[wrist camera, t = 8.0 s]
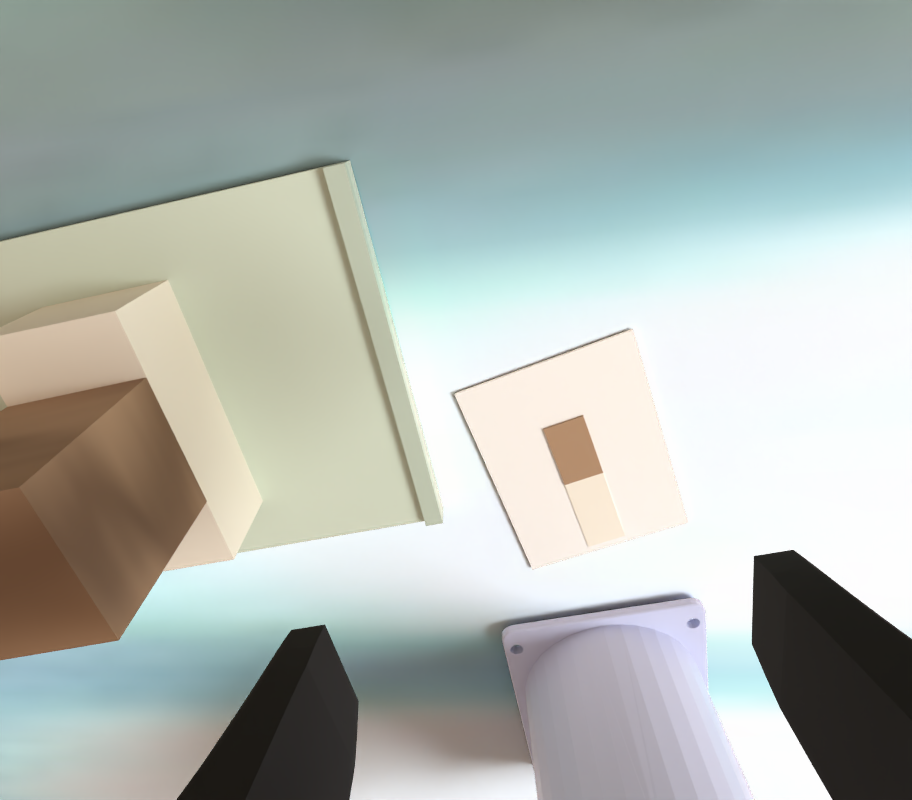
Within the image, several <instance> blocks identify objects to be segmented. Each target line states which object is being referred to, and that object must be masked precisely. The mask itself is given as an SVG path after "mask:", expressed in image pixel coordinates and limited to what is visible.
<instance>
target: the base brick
mask: <svg viewBox="0 0 912 800" xmlns="http://www.w3.org/2000/svg"><path fill="white" fill-rule="evenodd" d="M141 378H147V380H148V382H149V384H150V386H151V388H152V390H153V392H154V394H155V396H156V398H157V400H158V402H159V404H160V406H161V408H162V410H163V413H164V415H165V417H166V419H167V421H168V423H169V425H170V427H171V429H172V431H173V433H174V435H175V437H176V439H177V441H178V443H179V445H180V447H181V449H182V451H183V453H184V455H185V457H186V459H187V461H188V464H189V466H190V468H191V470H192V472H193V474H194V476H195V478H196V480H197V482H198V484H199V486H200V488H201V490H202V492H203V494H204V496H205V498H206V500H207V502H206V504H205V505H204V507H203V509H202V510H201V512H200V513H199V515H198V516H197V518H196V520H195V521H194V523H193V524H192V526H191V527H190V529H189V531H188V532H187V534H186V535H185V537H184V538H183V540H182V542H181V543H180V545H179V546H178V548H177V549H176V551H175V553H174V554H173V556H172V557H171V559H170V560H169V562H168V564H167V565H166V567H165V568H164V570H163V571H168V570H174V569H180V568H186V567H192V566H198V565H204V564H209V563H215V562H221V561H227V560H233V559H234V558H235V556H236V554H237V552H238V550H239V548H240V546H241V544H242V542H243V540H244V538H245V536H246V534H247V532H248V530H249V528H250V526H251V524H252V522H253V520H254V518H255V516H256V514H257V512H258V510H259V508H260V506H261V504H262V502H263V500H262V498H261V496H260V493H259V491H258V489H257V486H256V484H255V482H254V479H253V477H252V475H251V472H250V470H249V468H248V465H247V463H246V461H245V458H244V456H243V454H242V451H241V449H240V447H239V444H238V442H237V440H236V437H235V435H234V433H233V430H232V428H231V426H230V423H229V421H228V419H227V416H226V414H225V412H224V409H223V407H222V405H221V402H220V400H219V398H218V395H217V393H216V391H215V388H214V386H213V384H212V381H211V379H210V377H209V374H208V372H207V370H206V367H205V365H204V363H203V360H202V358H201V355H200V353H199V351H198V348H197V346H196V344H195V341H194V339H193V337H192V334H191V332H190V330H189V327H188V325H187V323H186V320H185V318H184V316H183V313H182V311H181V309H180V306H179V304H178V302H177V299H176V297H175V295H174V292H173V290H172V288H171V285H170V283H169V281H168V280H165V281H160V282H155V283H151V284H146V285H142V286H137V287H132V288H128V289H123V290H119V291H114V292H110V293H105V294H100V295H96V296H91V297H87V298H82V299H77V300H73V301H68V302H64V303H59V304H54V305H50V306H45V307H42V308H40V309H38V310H35V311H33V312H31V313H29V314H27V315H25V316H23V317H21V318H19V319H17V320H15V321H12V322H10V323H8V324H6V325H4V326H2V327H0V396H1V397H2V399H3V401H4V402H5V404H6V405H7V407H9V406H14V405H19V404H23V403H28V402H33V401H38V400H42V399H47V398H52V397H56V396H61V395H66V394H70V393H75V392H80V391H85V390H89V389H94V388H99V387H103V386H108V385H113V384H118V383H122V382H127V381H132V380H136V379H141Z"/></svg>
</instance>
